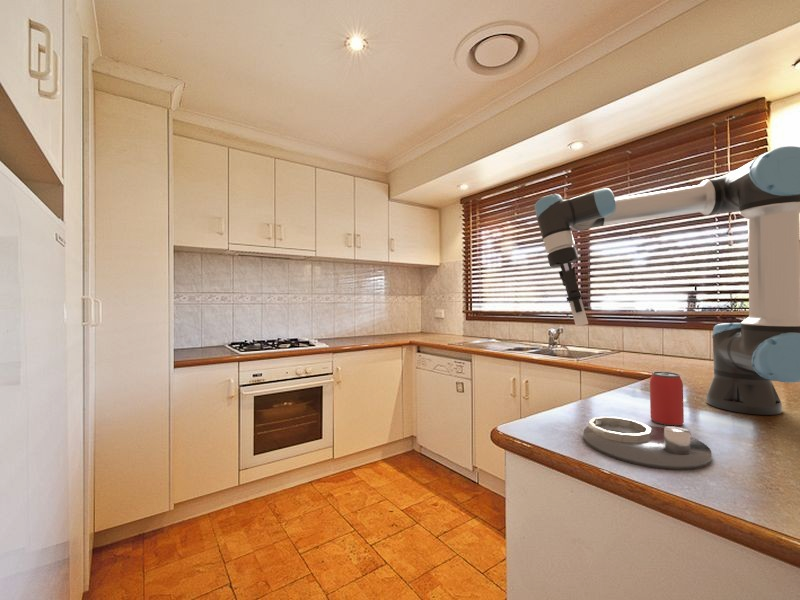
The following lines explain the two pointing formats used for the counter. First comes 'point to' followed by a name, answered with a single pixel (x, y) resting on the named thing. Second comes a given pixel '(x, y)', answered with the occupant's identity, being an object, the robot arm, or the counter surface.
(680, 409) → the beer can
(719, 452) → the counter surface
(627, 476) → the counter surface
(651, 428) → the carrier plate
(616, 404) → the counter surface
